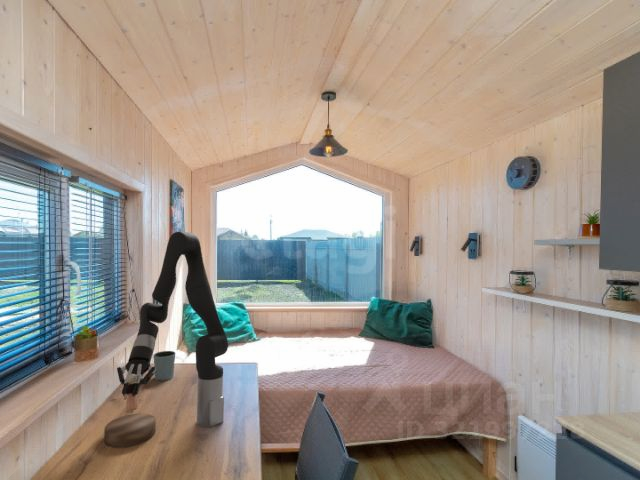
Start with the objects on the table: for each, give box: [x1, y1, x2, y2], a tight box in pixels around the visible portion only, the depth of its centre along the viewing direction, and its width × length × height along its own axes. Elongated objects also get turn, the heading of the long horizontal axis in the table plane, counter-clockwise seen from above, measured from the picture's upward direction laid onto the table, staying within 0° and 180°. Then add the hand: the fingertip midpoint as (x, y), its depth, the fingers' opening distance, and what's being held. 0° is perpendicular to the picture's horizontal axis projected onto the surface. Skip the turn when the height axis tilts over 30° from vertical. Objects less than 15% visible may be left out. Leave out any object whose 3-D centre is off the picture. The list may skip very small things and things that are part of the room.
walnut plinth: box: [103, 412, 157, 449], centre depth 130 cm, size 16×16×4 cm
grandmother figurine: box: [123, 374, 139, 414], centre depth 130 cm, size 8×4×13 cm, turn 8°
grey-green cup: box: [152, 350, 176, 382], centre depth 185 cm, size 10×10×12 cm
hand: (129, 395), depth 128 cm, fingers closed on grandmother figurine, 2 cm apart
